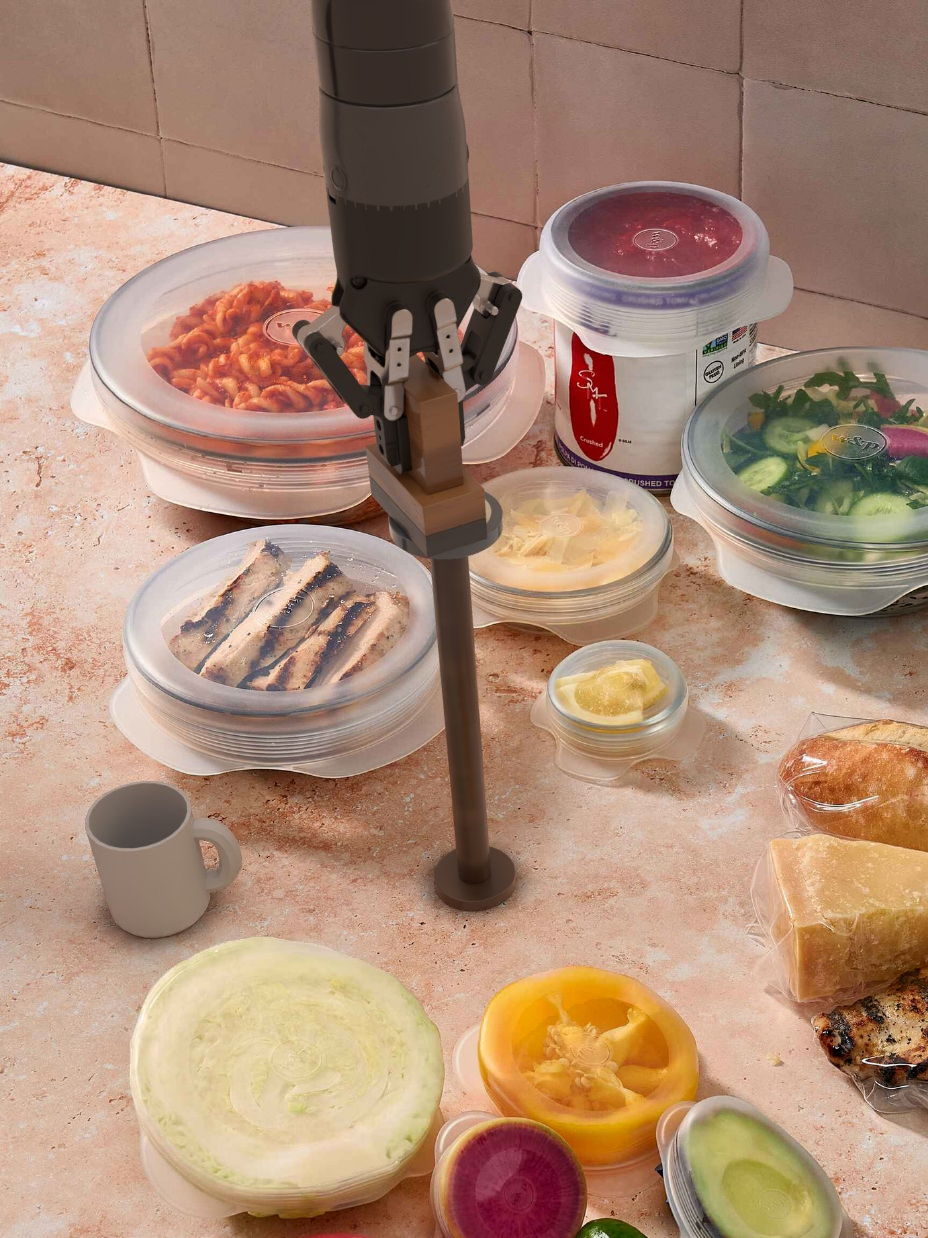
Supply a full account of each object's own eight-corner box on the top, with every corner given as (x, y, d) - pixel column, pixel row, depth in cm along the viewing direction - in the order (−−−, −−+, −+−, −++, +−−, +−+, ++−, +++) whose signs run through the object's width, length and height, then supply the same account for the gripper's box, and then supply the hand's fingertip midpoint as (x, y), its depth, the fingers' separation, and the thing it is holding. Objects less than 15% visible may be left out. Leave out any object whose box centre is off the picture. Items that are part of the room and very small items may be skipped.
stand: (457, 922, 121) (423, 565, 100) (421, 872, 125) (381, 518, 104) (530, 892, 123) (512, 537, 102) (492, 843, 127) (468, 491, 106)
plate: (419, 572, 99) (418, 556, 99) (371, 516, 104) (369, 501, 103) (523, 539, 102) (522, 523, 101) (471, 486, 106) (470, 471, 106)
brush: (488, 538, 100) (478, 396, 94) (427, 558, 98) (414, 414, 92) (429, 477, 105) (416, 338, 99) (371, 495, 103) (354, 354, 97)
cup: (116, 874, 124) (90, 784, 118) (252, 863, 125) (234, 774, 119) (105, 945, 119) (78, 855, 113) (248, 933, 120) (229, 843, 114)
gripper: (481, 122, 92) (497, 403, 104) (244, 172, 87) (288, 462, 99) (547, 169, 88) (555, 457, 99) (300, 224, 82) (340, 522, 94)
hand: (422, 458), depth 99 cm, fingers closed on brush, 2 cm apart
